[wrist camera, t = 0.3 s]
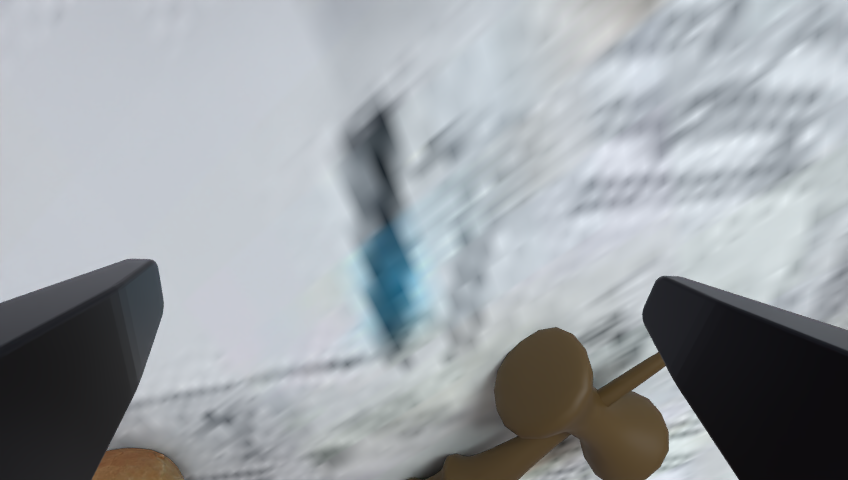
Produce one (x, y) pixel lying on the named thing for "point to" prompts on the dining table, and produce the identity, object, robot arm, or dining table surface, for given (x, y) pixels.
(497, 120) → the dining table surface
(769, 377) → the robot arm
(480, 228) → the dining table surface
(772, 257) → the dining table surface
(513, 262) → the dining table surface
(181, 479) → the bread roll
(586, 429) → the kendama
